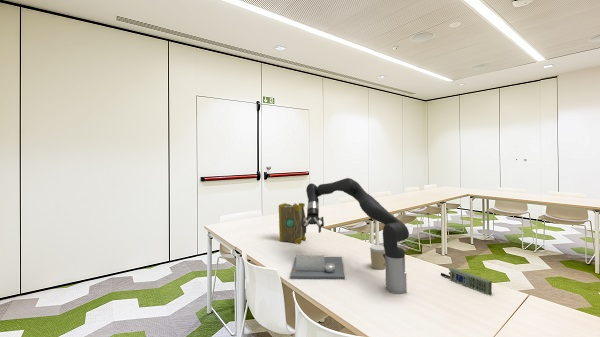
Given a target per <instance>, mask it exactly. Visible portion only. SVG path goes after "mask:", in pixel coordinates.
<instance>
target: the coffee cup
mask: <svg viewBox="0 0 600 337" xmlns="http://www.w3.org/2000/svg"><path fill="white" fill-rule="evenodd" d="M369 250H370V251H369V252H370V261H371V269H374V270H379V271H380V270H381V271H383V270H386V269H385V250H384V245H382V244H372V245H371V246H370V247H369Z"/></svg>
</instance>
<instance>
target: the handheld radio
mask: <svg viewBox="0 0 600 337" xmlns="http://www.w3.org/2000/svg"><path fill="white" fill-rule="evenodd" d="M448 268H449V269H448V271H449V272H448V274H445V273H443V272H441V273H440V276H442V277H445V278H447V279H449V281H452V282H454V283H457V284H460V285H461V286H464V287H467V288H470V289H472V290H475V291H477V292H480V293H483V294H485V295H488V296H490V295H492V293H493V292H492V289H493V288H492V285H493V284H492V283H493V281H492V280H490V279H487V278H484V277H481V276H479V275H475V274H473V273H470V272H468V271H467V272H466V271H464V270H460V269H458V268H456V267H451V266H448Z"/></svg>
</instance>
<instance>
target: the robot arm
mask: <svg viewBox="0 0 600 337" xmlns="http://www.w3.org/2000/svg"><path fill="white" fill-rule="evenodd" d="M337 191H338V192H343V193H345V194H347V195H349V196H350V197H352V198H354V199H355V200H356V201H357V202H358V205H359V206H360V209H361V211H363V213H365V214H366V215H367V216H368V217H369V218H370V219H372V220H374V221H377V222H379V223H381V224H383V228H382V243H383V245H382V246H384V250H385V269H384V270H385V290H386V291H387V292H389V293H392V294H399V295H401V294H404V293H407V292H408V291H407V284H408V282H407V279H408V278H407V271H406V251H405V250H404V249H403V248H401V247H399V246H398V243H399V242H403V241H405V240H407V239H408V238H409V236H410V231H409V228H408V227H407V226H406V224H404V222H402V221H401V220H400V219H399V218H397V217H396V216H394V215H393V214H391V213H390V212H389V211H388V210H387V209H386V208H385V207H384V206H382V204H380V202H379V201H377V200H376V199H375V198H374V197H373V196H372V195H370V194H369V193H367V192H366V191H365V189H364V188H363V187H362V185H361V184H360V183H359V182H357V181H356V180H354V179H353V178H350V177H346V178H343V179H340V180H337V181H334V182H328V183H321V184H319V185H318V186H317V185H316V184H314V183H308V185H307V186H306V196H307V199H308V200H307V208H306V209H307V210H306V216H305V217H306V218H304V217H302V220H301V227H304V232H305V234H306V233H307V227H308V226H309V225H311V226H312V225H313V226H314V225H316V226H317V228H318V234H320V233H321V232H322V228H324V227H325V221H324V216H321V217H319V213H320V207H319V206H320V204H319V203H320V202H319V197H321V196H323V195H330V194H333V193H334V192H337ZM305 220H306V223H305V224H304V221H305ZM320 222H321V223H320Z"/></svg>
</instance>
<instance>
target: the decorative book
mask: <svg viewBox="0 0 600 337" xmlns="http://www.w3.org/2000/svg"><path fill="white" fill-rule="evenodd" d="M305 204H306V203H304V202H299V203H298V204H297V203H293V204H290V203H289V204H288V203H285V202H284V203H281V204H279V205H278V219H279V220H278V227H279V228H278V229H279V242H290V243H294V244H295V243H298V244H297V245H301V244H302V242H303V241H306V240H307V237H306V233H305V232H304V227H301V220H302V217H304V218H306V217H307V216H306V212H305V208H304V207H305ZM306 221H307V220H305V221H304V224H305V223H306ZM301 240H303V241H301ZM300 243H301V244H300Z"/></svg>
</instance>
